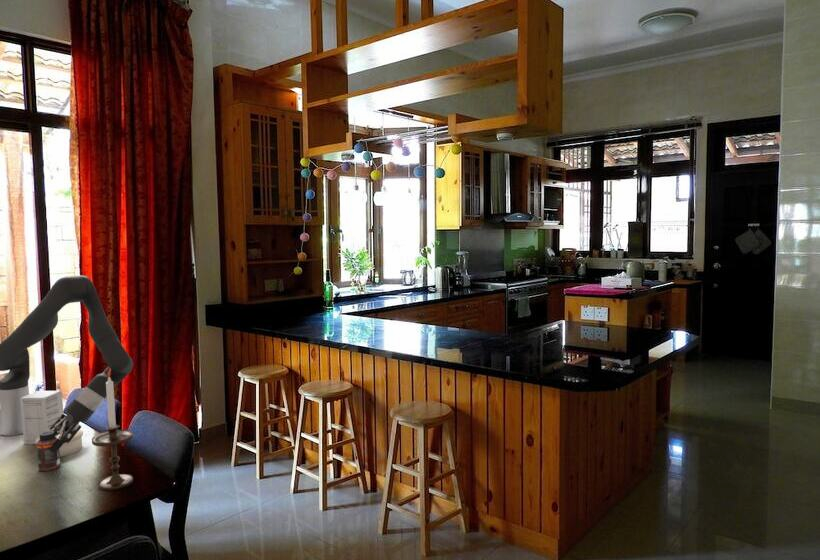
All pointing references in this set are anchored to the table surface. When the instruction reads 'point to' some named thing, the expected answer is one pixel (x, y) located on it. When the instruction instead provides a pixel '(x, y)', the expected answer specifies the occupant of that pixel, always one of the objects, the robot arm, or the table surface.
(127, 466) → the table surface
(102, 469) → the table surface
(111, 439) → the candlestick
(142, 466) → the table surface
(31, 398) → the supplement box
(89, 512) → the table surface
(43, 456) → the supplement bottle
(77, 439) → the podium
